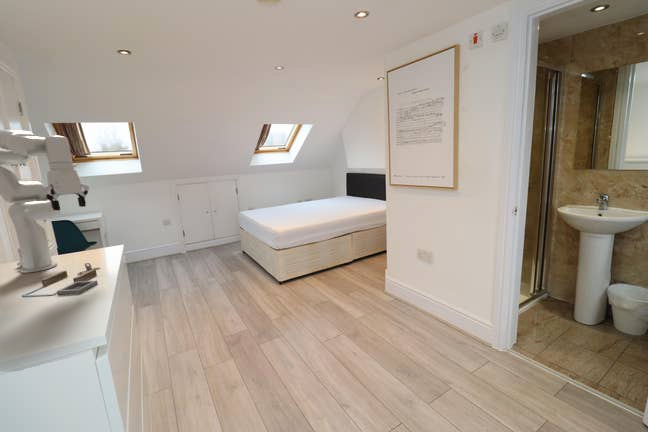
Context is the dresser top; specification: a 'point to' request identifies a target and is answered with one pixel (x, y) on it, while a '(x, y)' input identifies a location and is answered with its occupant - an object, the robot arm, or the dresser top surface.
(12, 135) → the robot arm
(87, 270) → the strap clip
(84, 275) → the walled tunnel
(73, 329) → the dresser top surface
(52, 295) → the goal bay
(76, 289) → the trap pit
